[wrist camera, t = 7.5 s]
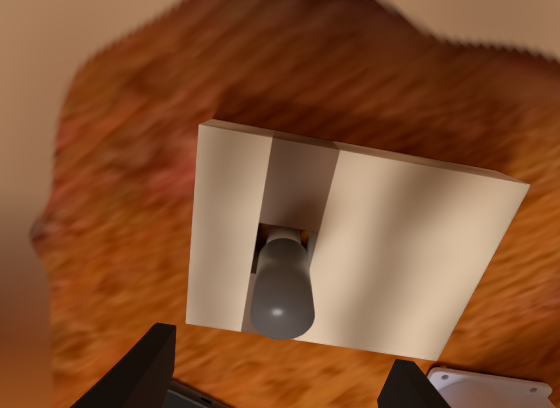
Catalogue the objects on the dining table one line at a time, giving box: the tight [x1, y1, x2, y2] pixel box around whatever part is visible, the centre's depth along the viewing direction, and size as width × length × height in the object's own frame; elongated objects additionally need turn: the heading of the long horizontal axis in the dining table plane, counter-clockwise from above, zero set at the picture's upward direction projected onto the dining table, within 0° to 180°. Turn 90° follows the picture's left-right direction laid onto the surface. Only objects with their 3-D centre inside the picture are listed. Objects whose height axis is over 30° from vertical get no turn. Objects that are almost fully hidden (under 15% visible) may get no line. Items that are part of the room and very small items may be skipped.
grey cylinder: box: [250, 225, 315, 340], centre depth 15 cm, size 3×3×7 cm
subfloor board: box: [186, 119, 530, 361], centre depth 17 cm, size 16×12×2 cm
